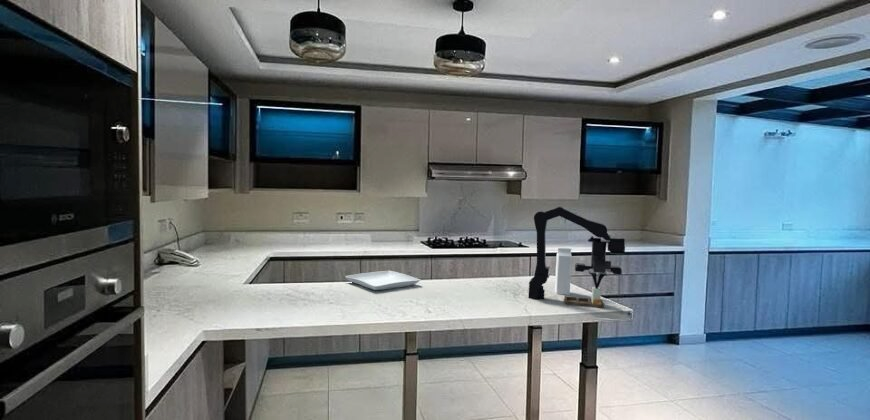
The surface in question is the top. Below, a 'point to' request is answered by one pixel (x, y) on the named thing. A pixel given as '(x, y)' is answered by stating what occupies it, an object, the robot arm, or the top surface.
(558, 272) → the milk
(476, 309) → the top surface
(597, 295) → the block
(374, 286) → the square plate
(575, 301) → the rack
